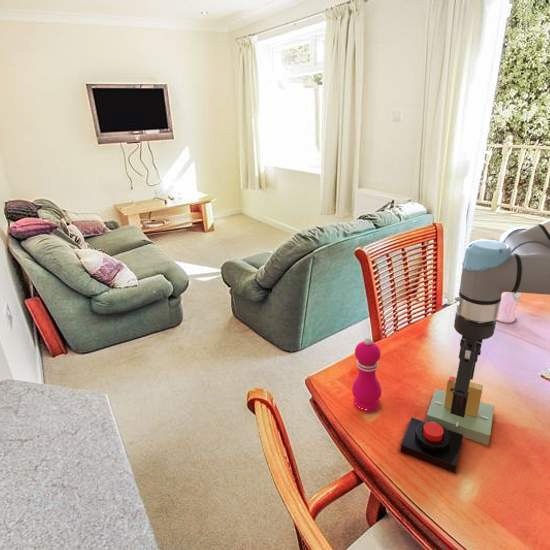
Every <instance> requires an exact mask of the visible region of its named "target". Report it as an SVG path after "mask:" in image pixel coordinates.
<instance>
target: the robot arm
mask: <svg viewBox="0 0 550 550" xmlns="http://www.w3.org/2000/svg"><path fill="white" fill-rule="evenodd" d="M461 264H462V267H461V275H460V283H459V290H458V296H457V295H456V296H455V297H454V301H456V302H457V305H456V312H455V315H454V317H455V318H454V322H453V328H454V330H455V331H456V332H457V334H459V335H461V338H460V342H459V346H460V349H459V354H458V359H459V362H458V368H457V373H456V377H455V378H456V382H455V388H454V389H453V388H451V389H450V391H453V399H452V406H451V412H450V413H451V414H454V415H457V416H460V417H463V418H464V416H465V410H466V405H467V399H468V394H469V392H468V389H469V384H470V382H471V381H473V380H474V375H475V368H476V365H477V362H478V358H479V356H481V353H482V345H483V341H484V340H487V339H490V338H492V337H493V336H494V334H495V330H496V325H497V320H496V318H497V317H498V313H499V308H500V303H501V295H502V293H503V292H518V293H522V294H533V295H546V296H550V218H549V219H547V220H545V221H542V222H541V223H540V222H539V224H535V225H534V226H531V227H529V228H526V227H512V228H510V229H507V230H506V231H505V232H503V234H501V236H500V238H499V240H493V239H478V240H474V241H472V242H470V243H469V244H467V246H466V248H465V252H464V257H463V261H462V263H461Z"/></svg>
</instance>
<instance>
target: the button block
mask: <svg viewBox="0 0 550 550" xmlns="http://www.w3.org/2000/svg"><path fill="white" fill-rule="evenodd" d="M431 422H432V421H431ZM426 423H427V422H426V421H424V420H421V419H418V418H415V417H411V418H410V421H409V423H408V426H407V429H406V431H405V434H404V436H403V438H402V441H401V444H400V453H401V454H405V455H407V456H410V457H412V458H415V459H417V460H420V461H422V462H425V463H427V464H430V465H432V466H435V467H438V468H440V469H442V470H445V471H447V472H450V473H452V474H456V471H457V467H458V461H459V457H460V453H461V449H462V448H461V447H462V443H463V438H464V437H463V435H462V434H459V433H456V432H453V431H450V430H448V429H446V428H445V427H443V426H442V425H441V424H439V425H440V426H441V427H442V428H443V430H444V433H443V439H442V440H441V441H440V442H431V441H429V440H427V439H426V438H425V437H424V435H423V428H424V425H425V424H426ZM437 424H438V423H437Z"/></svg>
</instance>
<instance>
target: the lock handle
mask: <svg viewBox="0 0 550 550" xmlns="http://www.w3.org/2000/svg"><path fill="white" fill-rule="evenodd" d="M455 382H456V377H455V376H453V375H449V376H448V378H447V382H446V389H445V390H446V396H445V404H444V408H447V409H450V410H451V406H452V399H453V391H450V389H451V388H453V389H454V388H455ZM483 387H484V385H483V384H480V383H476V382H473V381H470V384H469V389H468V392H469V394H468V399H467V405H466V410H465V414H466V415H469V416H472V417H476V418H477V415H478V410H479V405H480V402H481V399H482V393H483V389H484V388H483Z"/></svg>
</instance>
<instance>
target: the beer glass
mask: <svg viewBox="0 0 550 550" xmlns="http://www.w3.org/2000/svg"><path fill="white" fill-rule="evenodd" d="M522 295H523V293H518V292H503V293H502V295H501V303H500V308H499V313H498V317H497V318H496V321H498V322H500V323H506V324H510V323H514V322H515V320H516V310H517V307H518V305H519V303H520V300H521V298H522Z"/></svg>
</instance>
